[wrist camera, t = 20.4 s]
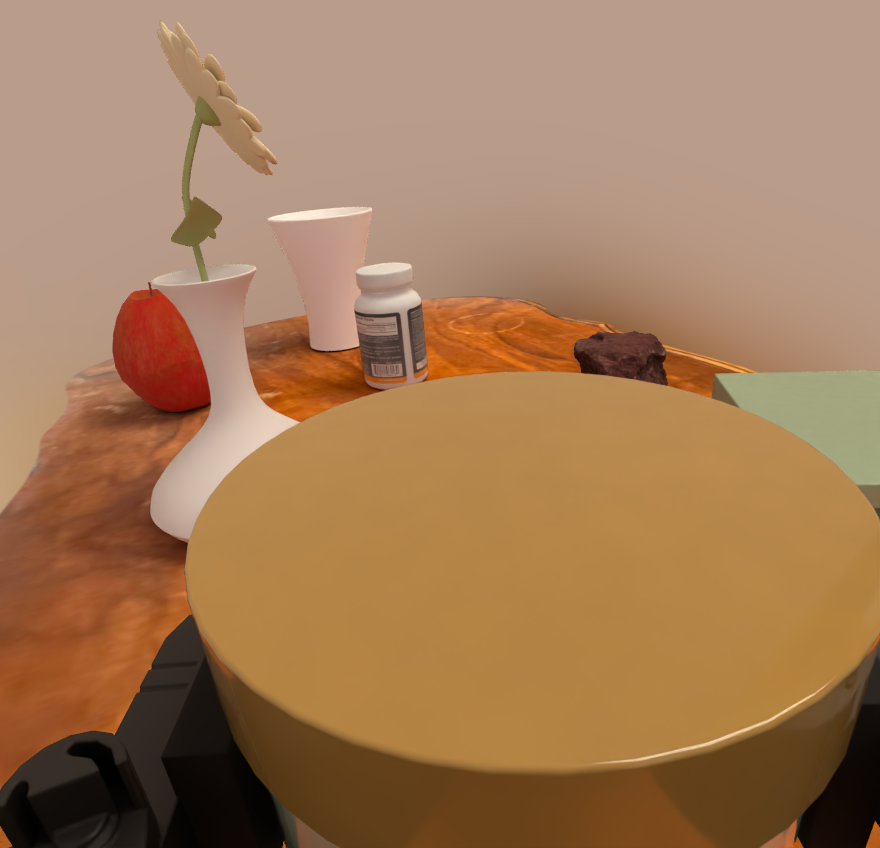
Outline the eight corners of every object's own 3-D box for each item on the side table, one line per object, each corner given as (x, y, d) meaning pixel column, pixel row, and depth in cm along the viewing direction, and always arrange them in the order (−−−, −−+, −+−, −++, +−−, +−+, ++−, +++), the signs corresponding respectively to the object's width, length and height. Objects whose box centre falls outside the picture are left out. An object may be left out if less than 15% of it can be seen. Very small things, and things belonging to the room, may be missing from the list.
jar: (851, 1304, 7) (1177, 831, 3) (238, 1170, 8) (-11, 726, 4) (697, 728, 13) (750, 365, 10) (374, 704, 15) (318, 375, 11)
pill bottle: (403, 365, 58) (391, 259, 53) (441, 378, 53) (432, 264, 49) (352, 382, 54) (336, 270, 50) (389, 397, 50) (374, 277, 46)
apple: (110, 421, 51) (66, 293, 46) (180, 385, 57) (148, 271, 53) (186, 429, 48) (148, 294, 43) (251, 390, 54) (223, 270, 50)
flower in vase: (351, 553, 31) (249, -43, 21) (126, 580, 31) (-95, -18, 20) (360, 442, 43) (297, 28, 33) (197, 460, 42) (81, 45, 32)
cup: (348, 324, 73) (331, 206, 67) (407, 337, 66) (393, 206, 60) (273, 348, 66) (247, 219, 61) (330, 364, 59) (306, 221, 54)
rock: (603, 404, 52) (526, 417, 48) (600, 330, 51) (520, 339, 47) (709, 416, 42) (622, 433, 39) (707, 325, 41) (618, 335, 38)
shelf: (1089, 651, 22) (1170, 485, 19) (766, 635, 24) (795, 483, 21) (920, 492, 32) (957, 368, 29) (700, 490, 34) (714, 373, 31)
